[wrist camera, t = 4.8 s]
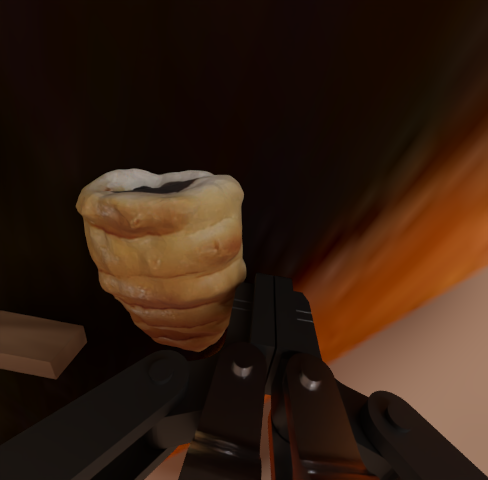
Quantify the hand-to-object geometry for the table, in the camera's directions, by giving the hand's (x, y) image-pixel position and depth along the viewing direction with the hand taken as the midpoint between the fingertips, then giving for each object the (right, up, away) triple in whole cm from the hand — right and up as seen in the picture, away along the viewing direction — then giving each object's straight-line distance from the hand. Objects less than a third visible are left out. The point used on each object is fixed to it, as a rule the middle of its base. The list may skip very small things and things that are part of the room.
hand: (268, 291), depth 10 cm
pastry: (-4, +2, +2) cm, 5 cm away
